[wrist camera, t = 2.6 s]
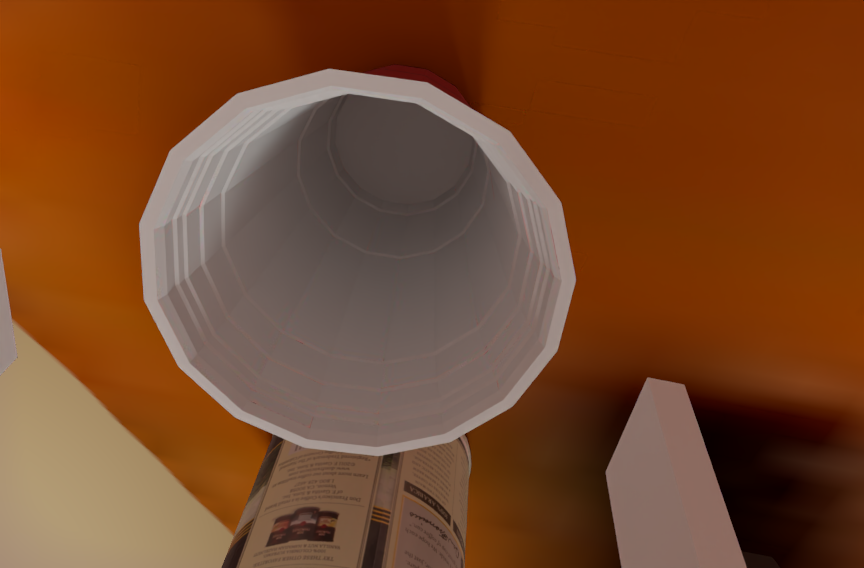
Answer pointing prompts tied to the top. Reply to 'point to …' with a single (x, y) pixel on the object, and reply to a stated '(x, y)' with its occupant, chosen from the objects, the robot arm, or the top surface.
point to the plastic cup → (357, 261)
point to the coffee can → (355, 509)
